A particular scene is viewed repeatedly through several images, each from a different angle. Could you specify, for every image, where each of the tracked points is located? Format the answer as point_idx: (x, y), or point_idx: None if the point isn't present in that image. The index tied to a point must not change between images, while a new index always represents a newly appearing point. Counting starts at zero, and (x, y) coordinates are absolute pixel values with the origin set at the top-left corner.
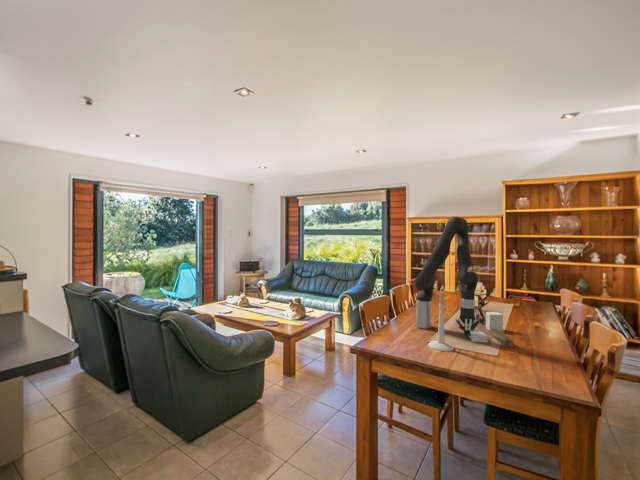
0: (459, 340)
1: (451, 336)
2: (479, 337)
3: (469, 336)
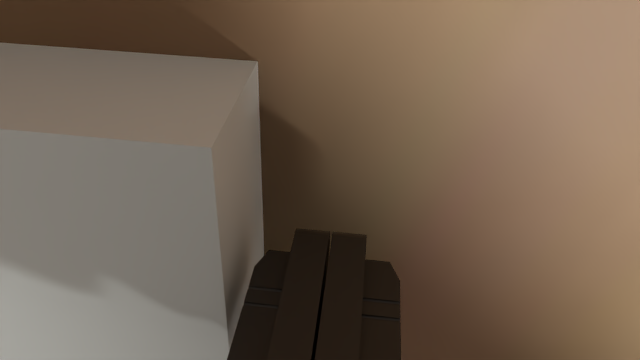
0: (584, 124)
1: (614, 343)
2: (19, 104)
3: None
